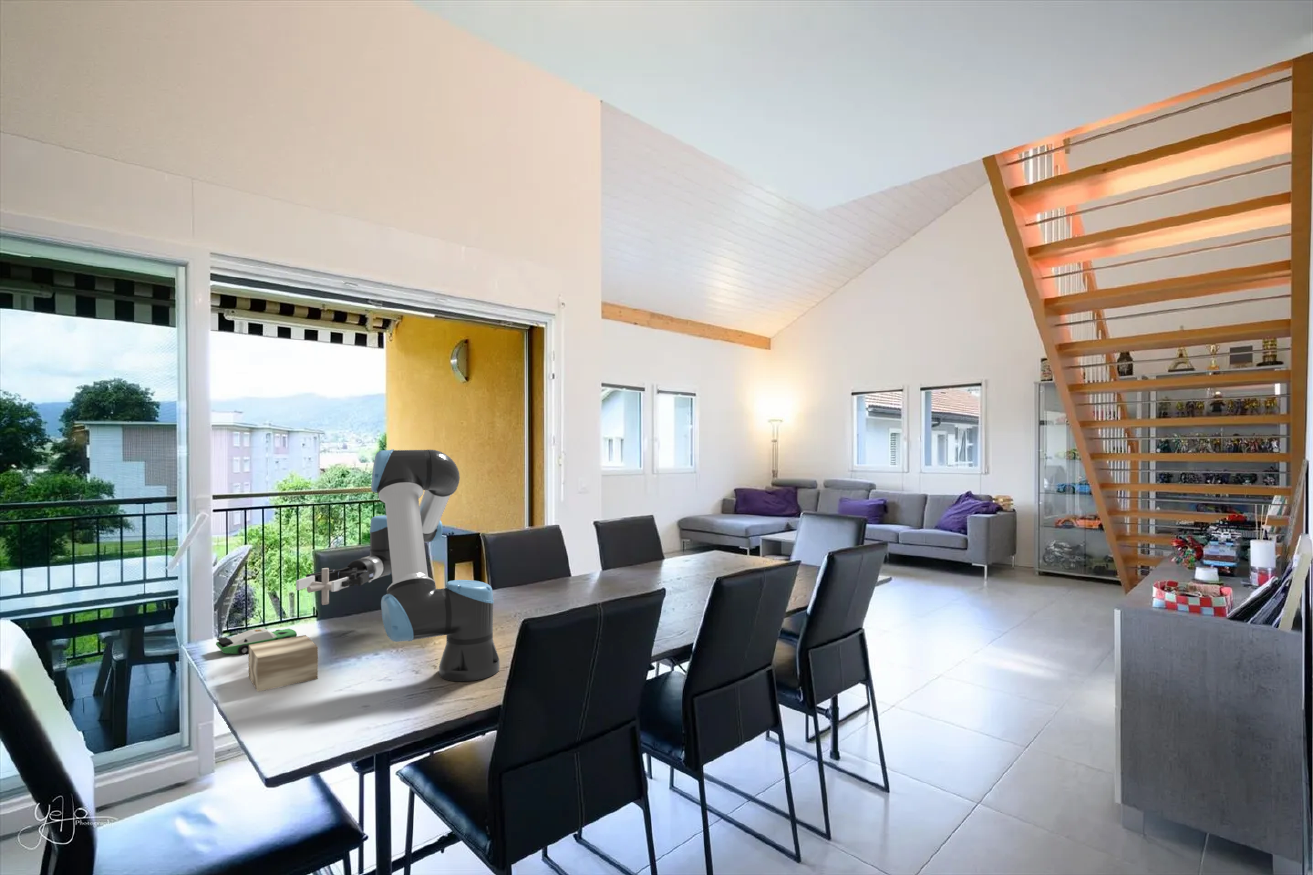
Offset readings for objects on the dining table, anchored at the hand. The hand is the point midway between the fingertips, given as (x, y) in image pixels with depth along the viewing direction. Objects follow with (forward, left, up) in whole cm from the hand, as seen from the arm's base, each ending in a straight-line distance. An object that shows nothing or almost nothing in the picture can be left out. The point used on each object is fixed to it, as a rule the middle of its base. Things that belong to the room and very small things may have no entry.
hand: (314, 585), depth 178 cm
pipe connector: (+3, -3, -6) cm, 8 cm away
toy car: (+21, +10, -20) cm, 31 cm away
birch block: (-11, +10, -20) cm, 25 cm away
